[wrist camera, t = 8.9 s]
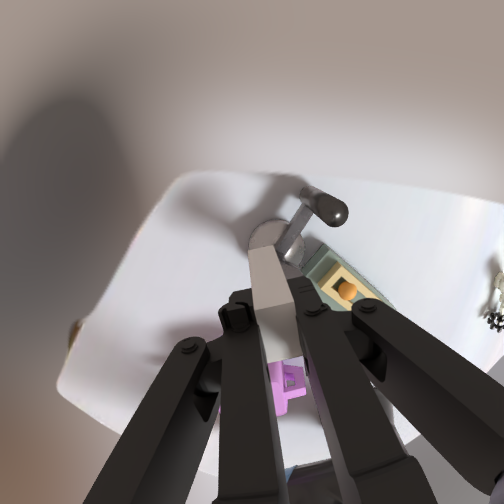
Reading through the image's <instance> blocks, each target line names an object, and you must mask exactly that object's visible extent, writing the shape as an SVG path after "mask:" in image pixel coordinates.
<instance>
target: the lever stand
mask: <svg viewBox="0 0 504 504" xmlns="http://www.w3.org/2000/svg"><path fill="white" fill-rule="evenodd" d="M301 271H302V273H303V275H304V276H305V277H307V278H309V279H310V280H311V281H312V283H313V285H314V287H315V289H316V291H317V292H318V294H319V296H320V298H321V300H322V302H323V303H326V304H328V305H329V306H330V307H331V309H332V310H335V311H351V306H352V305H353V303H354V302H356V301H358V300H360V299H363V298H376V299H378V300H381V301H382V302H384V303H385V304H387V305H388V306H390V307H391V308H393V309H394V310H396V309H395V307H394V306H393V305H392V304H391V303H390V302H389V301H388V300H387V299H386V298H385V297H384V296H383V295H382V294H381V293H380V292H378V291H377V290H376V289H375V288H374V287H373V286H372V285H371V284H370V283H369V282H368V281H366V280H365V279H364V278H363V277H362V276H361V275H360V274H359V273H358V272H356V271H355V270H354V269H353V268H352V267H351V266H350V265H349V264H347V263H346V262H345V261H344V260H343V259H342V258H341V257H340V256H338V255H337V254H336V253H335V252H334V251H333V250H331V249H330V248H329V247H328V246H327V245H326V244H325V243H324V244H323V245H322V247H321V248H320V249H319V250H318V251H317V252H316V253H315V255H314V256H313V257H312V258H311V259H310V260H309V261H308V262H307V264H306V265H305V266H304V267H303V268H302V269H301Z"/></svg>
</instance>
